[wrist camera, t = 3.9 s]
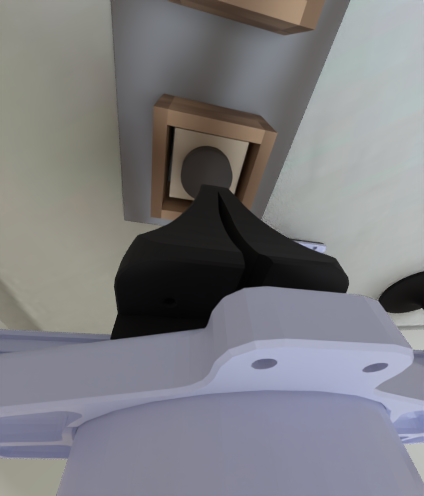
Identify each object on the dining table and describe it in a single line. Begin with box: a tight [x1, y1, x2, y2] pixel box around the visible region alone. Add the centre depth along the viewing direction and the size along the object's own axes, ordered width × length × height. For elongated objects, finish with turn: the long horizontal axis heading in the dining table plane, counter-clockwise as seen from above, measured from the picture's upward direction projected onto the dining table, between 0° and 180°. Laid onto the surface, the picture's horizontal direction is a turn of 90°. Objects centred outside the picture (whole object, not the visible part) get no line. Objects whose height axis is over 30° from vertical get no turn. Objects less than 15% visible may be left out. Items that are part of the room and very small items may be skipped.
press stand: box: [111, 0, 350, 226], centre depth 14 cm, size 14×28×6 cm, turn 169°
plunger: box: [169, 127, 249, 200], centre depth 17 cm, size 5×5×5 cm
